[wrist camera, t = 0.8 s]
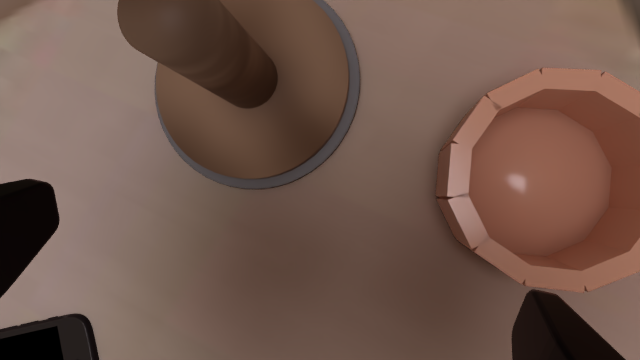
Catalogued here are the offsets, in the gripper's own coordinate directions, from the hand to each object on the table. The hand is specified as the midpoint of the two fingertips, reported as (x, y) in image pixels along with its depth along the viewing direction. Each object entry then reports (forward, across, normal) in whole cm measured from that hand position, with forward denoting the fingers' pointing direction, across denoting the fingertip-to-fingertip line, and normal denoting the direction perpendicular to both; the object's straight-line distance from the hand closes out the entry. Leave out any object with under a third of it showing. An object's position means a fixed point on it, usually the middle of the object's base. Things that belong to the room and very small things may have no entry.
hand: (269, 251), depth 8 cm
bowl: (+15, -8, +4) cm, 17 cm away
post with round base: (+15, +6, +2) cm, 17 cm away
